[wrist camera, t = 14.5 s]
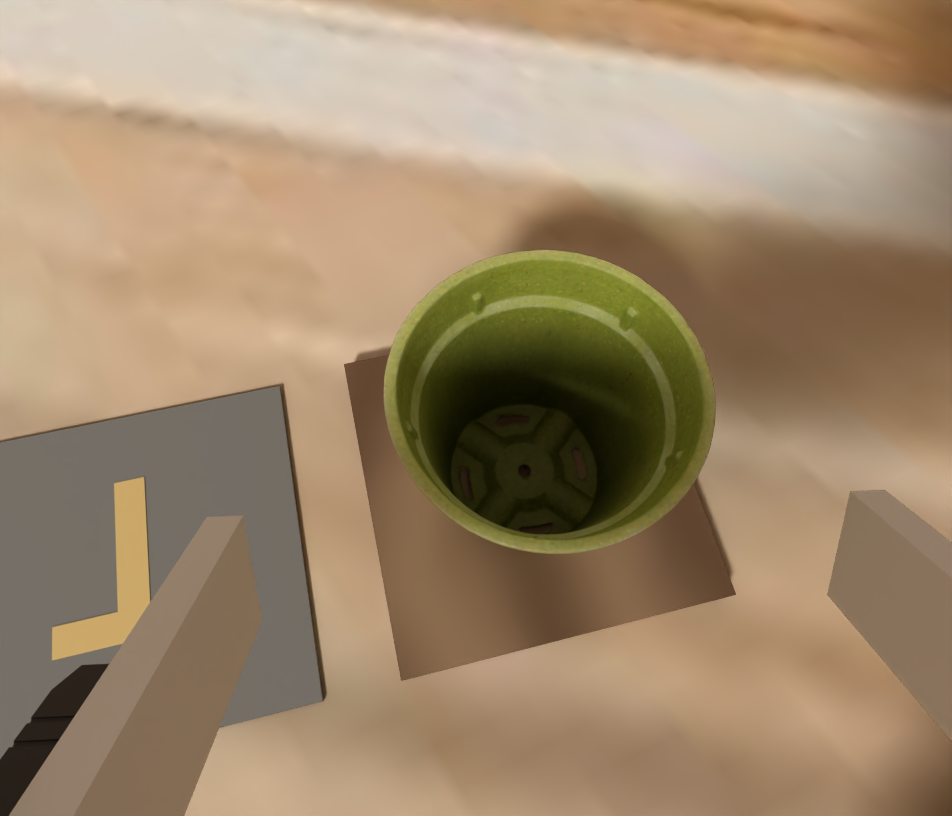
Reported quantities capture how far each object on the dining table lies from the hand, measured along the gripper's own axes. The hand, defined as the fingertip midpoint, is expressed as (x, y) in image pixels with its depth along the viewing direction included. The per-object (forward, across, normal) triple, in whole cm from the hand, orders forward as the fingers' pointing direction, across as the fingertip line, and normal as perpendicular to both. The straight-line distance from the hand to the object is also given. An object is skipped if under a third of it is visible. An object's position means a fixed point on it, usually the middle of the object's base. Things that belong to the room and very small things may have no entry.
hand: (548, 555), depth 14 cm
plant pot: (+12, +1, -4) cm, 12 cm away
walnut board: (+12, +1, -5) cm, 13 cm away
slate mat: (+10, -15, -7) cm, 19 cm away
